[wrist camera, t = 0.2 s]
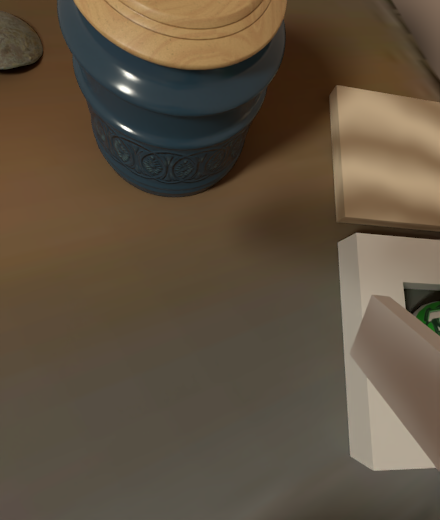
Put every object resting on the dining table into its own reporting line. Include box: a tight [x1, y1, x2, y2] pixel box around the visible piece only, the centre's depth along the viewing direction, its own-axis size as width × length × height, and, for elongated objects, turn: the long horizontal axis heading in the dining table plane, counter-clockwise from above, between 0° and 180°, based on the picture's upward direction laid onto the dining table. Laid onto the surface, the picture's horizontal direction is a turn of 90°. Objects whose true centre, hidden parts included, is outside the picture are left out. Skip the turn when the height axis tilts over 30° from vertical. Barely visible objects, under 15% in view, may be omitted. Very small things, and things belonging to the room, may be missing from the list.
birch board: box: [329, 85, 440, 232], centre depth 33 cm, size 14×12×2 cm
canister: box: [57, 0, 287, 197], centre depth 22 cm, size 13×13×18 cm
